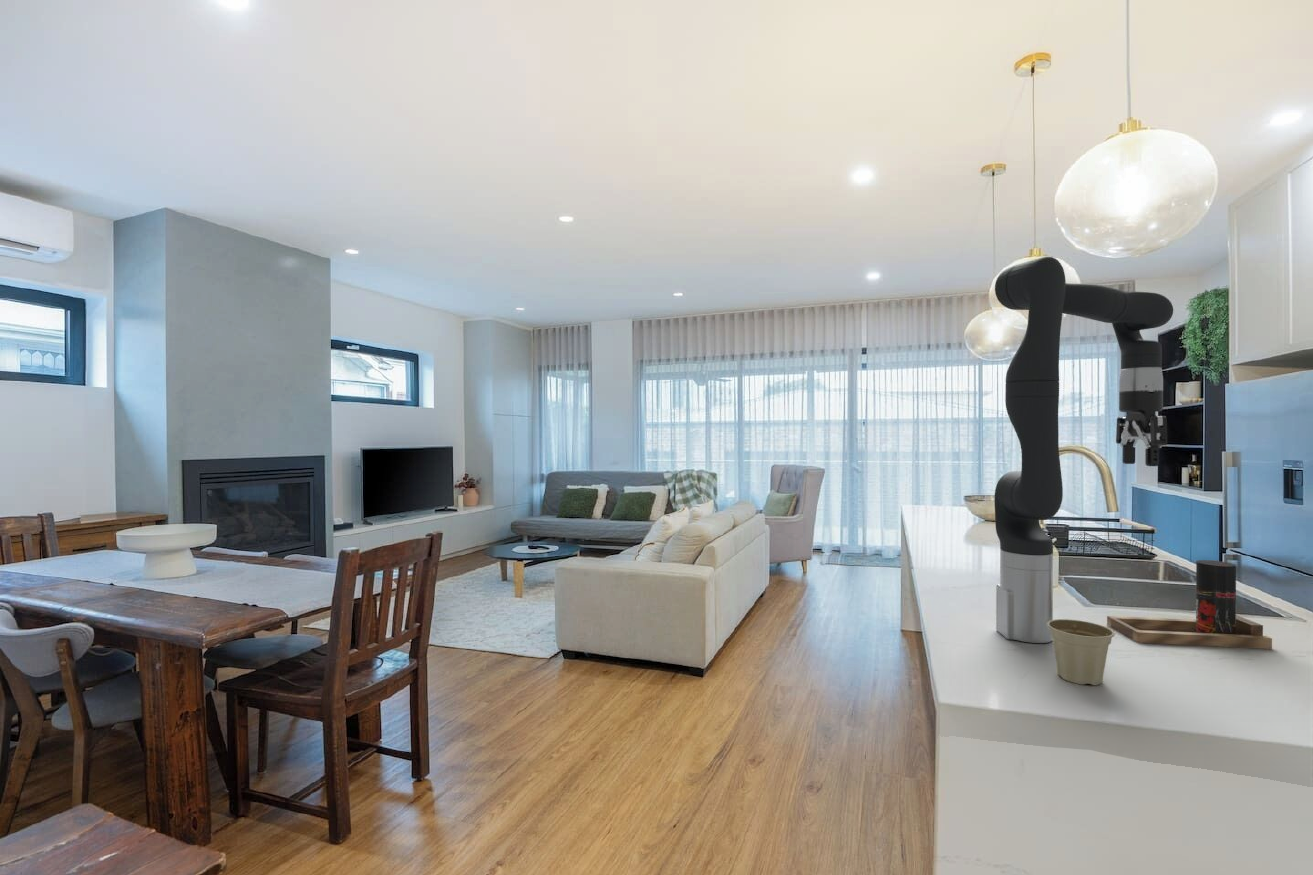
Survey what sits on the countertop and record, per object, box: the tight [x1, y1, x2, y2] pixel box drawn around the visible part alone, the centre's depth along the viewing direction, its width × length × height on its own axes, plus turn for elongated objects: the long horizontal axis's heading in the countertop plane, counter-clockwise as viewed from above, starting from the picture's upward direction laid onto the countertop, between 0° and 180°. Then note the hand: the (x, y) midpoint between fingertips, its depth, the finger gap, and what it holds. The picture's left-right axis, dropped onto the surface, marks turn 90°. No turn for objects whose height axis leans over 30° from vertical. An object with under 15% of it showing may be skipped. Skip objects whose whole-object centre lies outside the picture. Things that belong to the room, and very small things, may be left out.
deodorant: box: [1195, 559, 1237, 635], centre depth 126 cm, size 6×6×15 cm
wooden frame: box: [1106, 614, 1273, 650], centre depth 127 cm, size 23×11×4 cm, turn 80°
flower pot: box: [1047, 618, 1116, 686], centre depth 106 cm, size 9×9×9 cm
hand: (1140, 464), depth 136 cm, fingers open, 8 cm apart
